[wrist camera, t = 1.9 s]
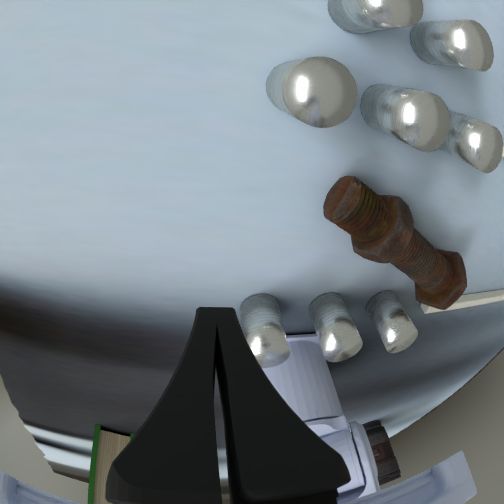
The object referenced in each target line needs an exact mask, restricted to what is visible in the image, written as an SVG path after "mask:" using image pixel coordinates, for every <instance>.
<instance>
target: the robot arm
mask: <svg viewBox="0 0 504 504" xmlns="http://www.w3.org/2000/svg"><path fill="white" fill-rule="evenodd" d="M286 337H287V341H288V345H289V349H290V356H289V358H288V359H287V360H286V361H285V362H283V363H282V364H280V365H278V366H275V367H271V368H261V366H260V365H259V363H258V361H257V359H256V358H255V356H254V354H253V352H252V350H251V348H250V346H249V344H248V342H247V340H246V338H245V336H244V334H243V331H242V329H241V327H240V324H239V321H238V319H237V315H236V312H235V309H233V308H229V307H199V308H198V309H196V316H195V320H194V324H193V328H192V331H191V334H190V337H189V339H188V342H187V345H186V347H185V350H184V352H183V355H182V357H181V359H180V361H179V363H178V366H177V368H176V370H175V372H174V374H173V376H172V378H171V380H170V382H169V384H168V386H167V387H166V389H165V391H164V393H163V394H162V396H161V398H160V399H159V401H158V403H157V404H156V406H155V407H154V409H153V411H152V412H151V414H150V415H149V417H148V418H147V419H146V421H145V422H144V423H143V425H142V426H141V428H140V429H139V430H138V432H137V433H136V434H135V436H134V437H133V438H132V439H131V441H130V442H129V443H128V444H127V445H126V447H125V448H124V449H123V450H122V451H121V452H120V453H119V455H118V456H117V457H116V458H115V459H114V460H113V462H112V464H111V467H110V469H109V472H108V475H107V480H106V491H105V499H106V501H107V502H109V503H112V504H222V497H221V487H220V478H219V467H218V456H217V445H216V431H215V417H214V386H215V369H216V371H217V378H218V385H219V391H220V398H221V404H222V410H223V417H224V427H225V442H226V455H227V468H228V481H229V493H230V504H463V503H465V502H466V501H467V500H469V499H470V498H472V497H473V496H474V495H476V493H477V490H476V487H475V484H474V481H473V478H472V475H471V472H470V469H469V467H468V464H467V461H466V459H465V456H464V454H463V452H462V451H460V452H458V453H456V454H455V455H453V456H451V457H449V458H448V459H446V460H444V461H442V462H440V463H439V464H437V465H435V466H433V467H432V468H430V469H428V470H426V471H424V472H422V473H420V474H418V475H416V476H414V477H412V478H410V479H408V480H405V481H403V482H401V483H398V484H396V485H393V486H391V487H388V488H386V489H383V490H380V486H379V482H378V478H377V476H378V471H377V467H376V463H375V459H374V455H373V452H372V449H371V446H370V442H369V440H368V437H367V434H366V431H365V429H364V427H363V425H361V424H359V423H357V422H356V421H353V422H351V423H349V424H350V428H351V431H352V433H351V434H352V437H353V440H352V437H351V434H350V430H349V427H348V424H347V421H346V418H345V415H343V412H342V409H341V405H340V402H339V399H338V396H337V393H336V390H335V387H334V384H333V381H332V378H331V374H330V371H329V368H328V365H327V362H326V359H325V357H324V354H323V352H322V349H321V346H320V343H319V340H318V337H317V334H304V335H286ZM353 441H354V443H353ZM360 466H361V467H360ZM361 468H362V471H361ZM0 504H80V503H77V502H73V501H70V500H67V499H64V498H61V497H58V496H55V495H52V494H49V493H47V492H44V491H41V490H39V489H37V488H34V487H32V486H30V485H27V484H25V483H23V482H21V481H19V480H16V479H15V478H13V477H11V476H9V475H7V474H5V473H3V472H1V471H0Z"/></svg>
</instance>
